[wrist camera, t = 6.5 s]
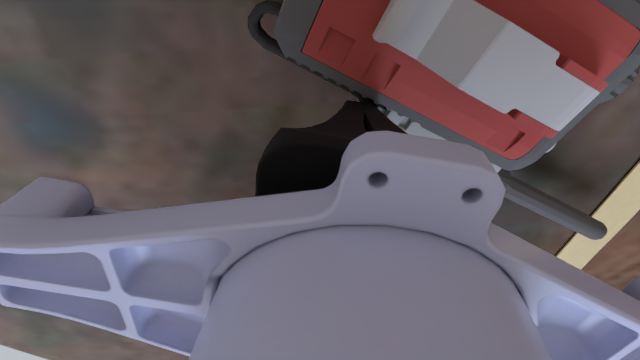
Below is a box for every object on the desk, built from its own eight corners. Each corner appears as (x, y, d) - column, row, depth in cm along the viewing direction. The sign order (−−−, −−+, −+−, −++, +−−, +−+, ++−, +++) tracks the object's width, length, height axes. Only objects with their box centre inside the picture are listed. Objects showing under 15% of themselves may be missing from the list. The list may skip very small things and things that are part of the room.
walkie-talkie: (239, 67, 15) (569, 228, 18) (203, 105, 11) (622, 295, 15) (325, -196, 10) (747, 97, 14) (310, -284, 6) (890, 150, 10)
